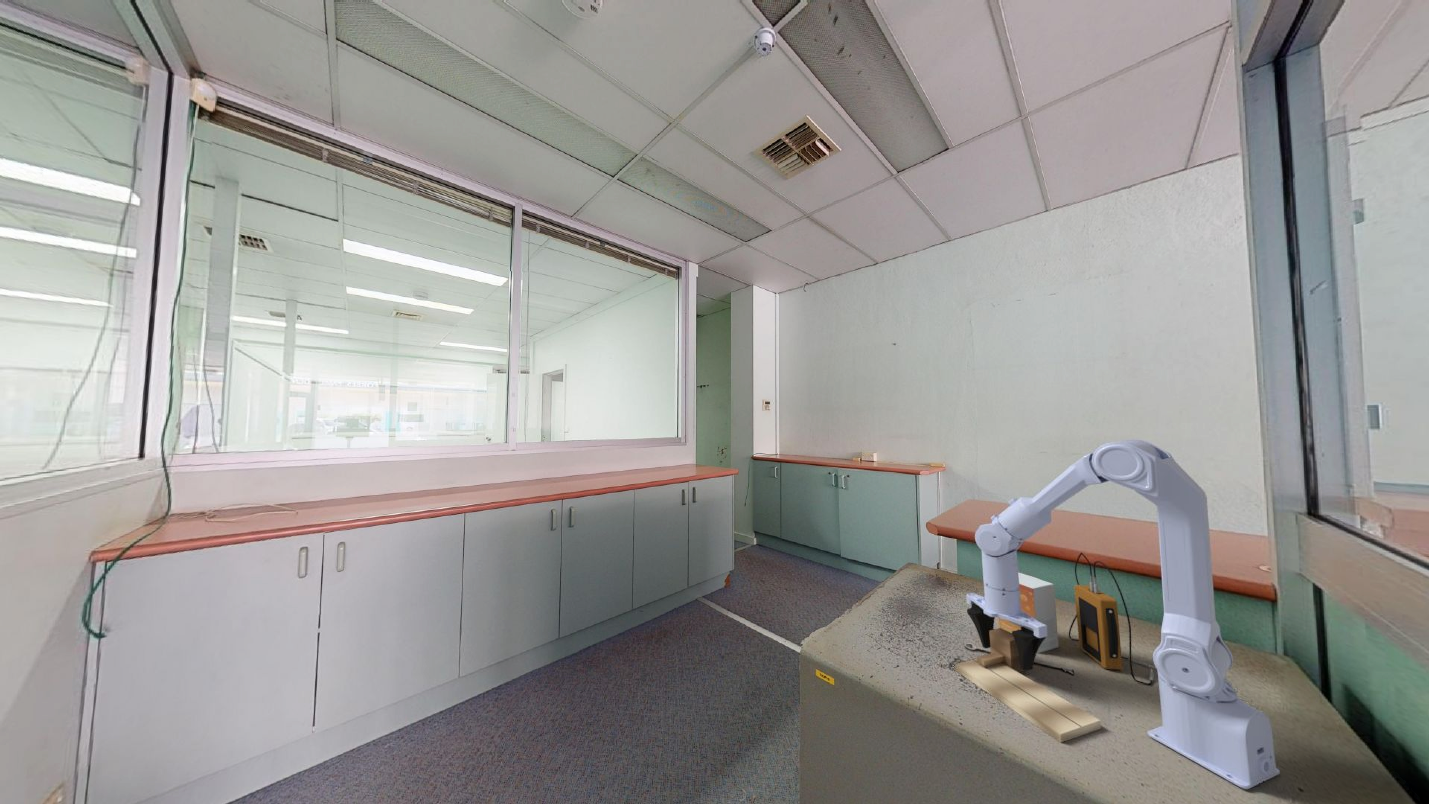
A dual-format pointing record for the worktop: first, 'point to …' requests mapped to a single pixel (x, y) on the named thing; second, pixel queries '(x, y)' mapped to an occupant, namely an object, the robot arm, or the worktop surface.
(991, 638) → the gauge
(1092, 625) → the multimeter
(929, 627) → the worktop surface
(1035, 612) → the small box
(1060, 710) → the board
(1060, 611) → the worktop surface
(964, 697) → the worktop surface
